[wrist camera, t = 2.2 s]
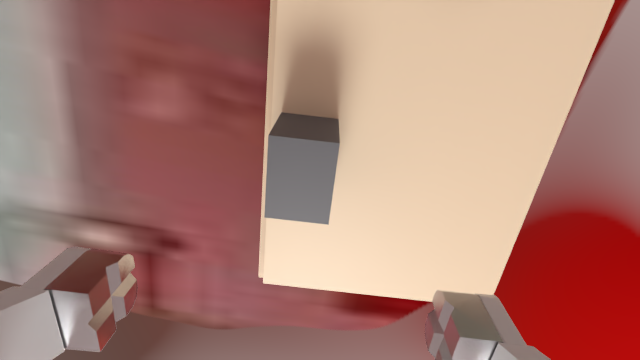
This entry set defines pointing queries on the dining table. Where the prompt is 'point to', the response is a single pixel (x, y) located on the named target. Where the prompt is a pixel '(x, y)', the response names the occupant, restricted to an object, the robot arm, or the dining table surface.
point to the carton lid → (414, 137)
